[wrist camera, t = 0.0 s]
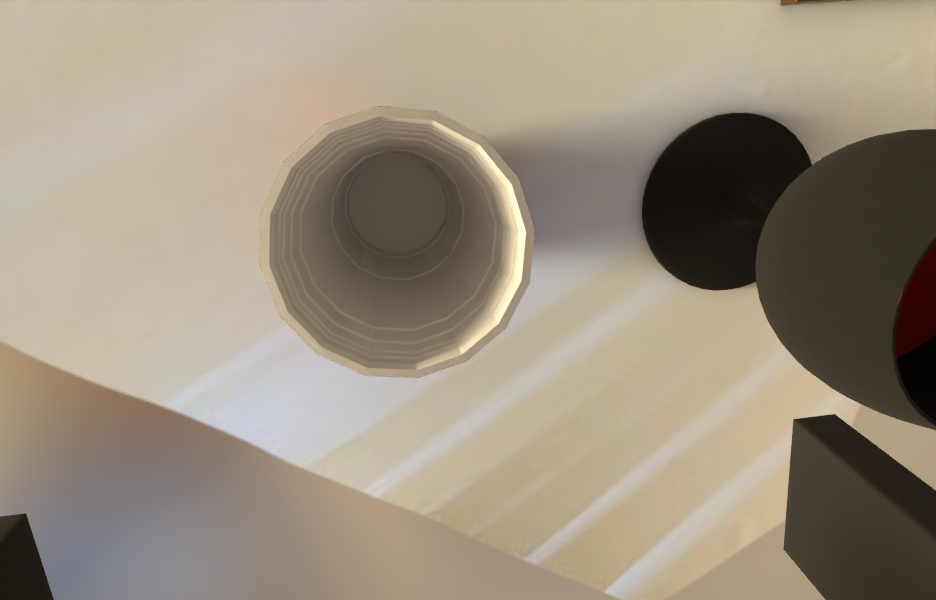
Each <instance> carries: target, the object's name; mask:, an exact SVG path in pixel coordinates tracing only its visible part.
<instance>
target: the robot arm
mask: <svg viewBox="0 0 936 600" xmlns="http://www.w3.org/2000/svg"><path fill="white" fill-rule="evenodd" d="M784 550H785V551H786V553H787V554H788V555H789V556H790V557H791V559H792V560H793V561H794V562H795V563H796V565H797V566H798V567H799V568H800V569H801V571H802V572H803V573H804V574H805V575H806V577H807V578H808V579H809V580H810V581H811V583H812V584H813V585H814V586H815V587H816V588H817V590H818V591H819V592H820V593H821V595H822V596H823V597H824V598H825V599H826V600H936V491H935V490H934V489H933V488H932V487H930V486H929V485H927V484H926V483H925V482H924V481H922V480H921V479H920V478H918V477H917V476H916V475H914V474H913V473H912V472H910V471H909V470H908V469H906V468H905V467H904V466H902V465H901V464H900V463H898V462H897V461H896V460H894V459H893V458H892V457H890V456H889V455H888V454H886V453H885V452H884V451H882V450H881V449H880V448H878V447H877V446H876V445H874V444H873V443H871V441H869V440H868V439H866V438H865V437H864V436H862V435H861V434H860V433H858V432H857V431H856V430H855V429H853V428H852V427H851V426H849V425H848V424H847V423H845V422H844V421H843V420H841V419H840V418H839V417H838V416H836V415H835V414H833V415H825V416H817V417H808V418H800V419H794V420H793V433H792V446H791V459H790V472H789V485H788V498H787V511H786V525H785V538H784ZM0 600H54V599H53V596H52V593H51V590H50V587H49V584H48V581H47V578H46V575H45V572H44V568H43V565H42V562H41V559H40V556H39V553H38V550H37V547H36V544H35V540H34V537H33V534H32V531H31V528H30V525H29V522H28V518H27V515H26V514H19V515H10V516H2V517H0Z"/></svg>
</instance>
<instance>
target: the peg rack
mask: <svg viewBox="0 0 936 600" xmlns="http://www.w3.org/2000/svg"><path fill="white" fill-rule="evenodd" d="M836 1H850V0H781V5H782V6H784V5H797V4H810V3H823V2H836Z"/></svg>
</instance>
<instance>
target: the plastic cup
mask: <svg viewBox="0 0 936 600" xmlns="http://www.w3.org/2000/svg"><path fill="white" fill-rule="evenodd" d="M534 234H535V230H534V227H533V223H532V220H531V216H530V213H529V210H528V206H527V203H526V200H525V196H524V193H523V190H522V186H521V183H520V180H519V178H518V177H517V176H516V175H515V174H514V172H513V171H512V170H511V169H510V167H509V166H508V165H507V164H506V163H505V161H504V160H503V159H502V158H501V156H500V155H499V154H498V153H497V152H496V150H495V149H494V148H493V147H492V145H491V144H490V143H489V142H488V140H487V139H486V138H485V137H483V136H481V135H480V134H478V133H476V132H474V131H472V130H470V129H468V128H466V127H465V126H463V125H461V124H459V123H457V122H455V121H453V120H451V119H450V118H448V117H446V116H444V115H442V114H440V113H438V112H436V111H429V110H417V109H406V108H395V107H383V106H378V107H375V108H372V109H369V110H366V111H363V112H360V113H357V114H354V115H351V116H348V117H345V118H342V119H339V120H336V121H333V122H330V123H327V124H325V125H324V126H323V127H322V128H320V129H319V130H318V131H317V132H316V133H315V134H314V135H313V136H312V137H310V138H309V139H308V140H307V141H306V142H305V143H304V144H303V145H301V146H300V147H299V148H298V149H297V150H296V151H295V152H294V153H293V154H291V155H290V156H289V157H288V158H287V159H286V160H285V161H284V162H283V164H282V166H281V169H280V171H279V173H278V175H277V177H276V180H275V182H274V184H273V186H272V188H271V191H270V193H269V195H268V197H267V199H266V202H265V204H264V206H263V208H262V210H261V237H260V268H261V270H262V272H263V275H264V277H265V280H266V282H267V285H268V287H269V290H270V292H271V295H272V297H273V300H274V302H275V305H276V307H277V309H278V312H279V314H280V317H281V318H282V319H283V320H284V321H285V322H286V323H287V324H288V325H289V326H290V327H291V328H292V329H293V330H294V331H295V332H296V333H297V334H298V335H299V336H300V337H301V338H302V339H303V340H304V341H305V342H306V343H307V344H308V345H309V346H310V347H311V348H312V349H313V350H314V351H315V352H316V353H317V354H318V355H320V356H322V357H325V358H327V359H329V360H331V361H334V362H336V363H338V364H340V365H343V366H345V367H347V368H349V369H352V370H354V371H356V372H358V373H361V374H363V375H365V376H383V377H406V378H419V377H422V376H425V375H428V374H431V373H434V372H437V371H440V370H443V369H446V368H449V367H451V366H454V365H457V364H460V363H463V362H466V361H467V360H469V359H470V358H471V357H472V356H473V355H474V354H476V353H477V352H478V351H479V350H480V349H482V348H483V347H484V346H485V345H486V344H487V343H489V342H490V341H491V340H492V339H493V338H495V337H496V336H497V335H498V334H499V333H501V332H502V331H503V330H504V329H505V328H506V326H507V324H508V322H509V321H510V319H511V317H512V315H513V313H514V311H515V309H516V307H517V306H518V304H519V302H520V300H521V298H522V296H523V294H524V292H525V290H526V289H527V287H528V285H529V283H530V273H531V263H532V254H533V244H534Z"/></svg>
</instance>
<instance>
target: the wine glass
mask: <svg viewBox="0 0 936 600" xmlns="http://www.w3.org/2000/svg"><path fill="white" fill-rule="evenodd" d="M642 219H643V228H644V232H645V236H646V240H647V242H648V244H649V247H650V249H651V251H652V253H653V254H654V256H655V257H656V259H657V260H658V262H659V263H660V264H661V265H662V266H663V267H664V268H665V269H666V270H667V271H668V272H669V273H671V274H672V275H673V276H675V277H676V278H677V279H679V280H681V281H683V282H685V283H687V284H689V285H692V286H695V287H698V288H702V289H708V290H728V289H734V288H739V287H742V286H745V285H748V284H751V283H753V282H755V281H756V283H757V288H758V293H759V298H760V301H761V304H762V307H763V309H764V312H765V315H766V317H767V320H768V322H769V323H770V325H771V327H772V328H773V330H774V332H775V333H776V335H777V337H778V338H779V340H780V341H781V343H782V344H783V345H784V346H785V348H786V349H787V350H788V351H789V352H790V353H791V354H792V355H793V357H794V358H795V359H796V360H797V361H798V362H799V363H800V364H801V365H802V366H803V367H804V368H805V369H806V370H808V371H809V372H811V373H812V374H813V375H815V376H816V377H817V378H819V379H820V380H821V381H823V382H824V383H826V384H827V385H828V386H830V387H831V388H832V389H834V390H836V391H837V392H839V393H841V394H843V395H845V396H846V397H848V398H850V399H852V400H854V401H856V402H858V403H860V404H862V405H864V406H866V407H869V408H871V409H873V410H875V411H878V412H880V413H882V414H885V415H888V416H891V417H894V418H896V419H899V420H902V421H905V422H909V423H913V424H916V425H919V426H923V427H926V428H930V429H934V430H936V129H925V130H907V131H901V132H895V133H889V134H883V135H878V136H874V137H870V138H867V139H864V140H861V141H859V142H856V143H853V144H850V145H847V146H845V147H843V148H841V149H839V150H837V151H835V152H833V153H831V154H829V155H827V156H825V157H824V158H822V159H821V160H819V161H818V162H816V163H815V164H814V165H812V164H811V161H810V158H809V156H808V154H807V152H806V150H805V148H804V147H803V145H802V144H801V142H800V141H799V140H798V139H797V137H796V136H795V135H794V134H793V133H792V132H791V131H789V130H788V129H787V128H786V127H785V126H783V125H781V124H780V123H778V122H776V121H775V120H772V119H770V118H767V117H764V116H761V115H756V114H750V113H729V114H723V115H717V116H714V117H711V118H709V119H706V120H703V121H701V122H699V123H697V124H696V125H694V126H692V127H690V128H689V129H687V130H686V131H685V132H683V133H682V134H680V135H679V136H678V137H677V138H676V139H675V140H674V141H673V142H672V143H671V144H670V145H669V146H668V147H667V148H666V149H665V151H664V152H663V153H662V155H661V156H660V157H659V159H658V161H657V162H656V164H655V166H654V168H653V170H652V171H651V174H650V177H649V179H648V182H647V184H646V188H645V193H644V197H643V206H642Z"/></svg>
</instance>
